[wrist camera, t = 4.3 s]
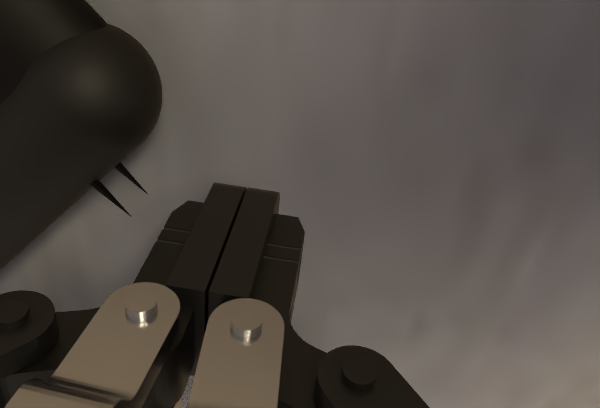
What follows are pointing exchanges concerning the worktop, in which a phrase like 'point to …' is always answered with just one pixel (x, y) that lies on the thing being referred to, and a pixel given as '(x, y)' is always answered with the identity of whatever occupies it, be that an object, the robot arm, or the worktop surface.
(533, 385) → the worktop surface
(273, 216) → the robot arm
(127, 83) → the door handle
